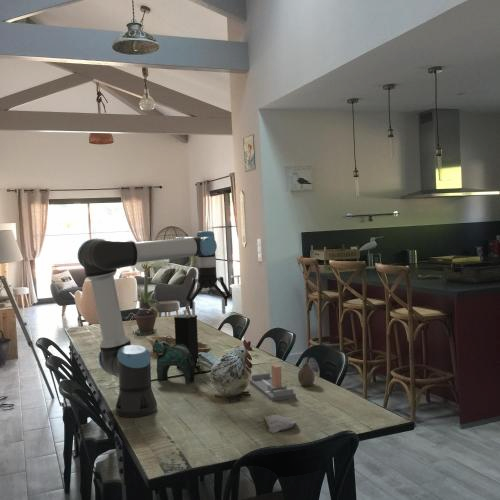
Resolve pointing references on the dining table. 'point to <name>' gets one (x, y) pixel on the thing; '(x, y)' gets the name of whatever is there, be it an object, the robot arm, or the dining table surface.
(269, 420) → the stone
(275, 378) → the fader knob
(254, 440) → the dining table surface
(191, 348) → the black rectangular column
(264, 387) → the console board
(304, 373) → the vase
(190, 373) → the teal animal figurine
